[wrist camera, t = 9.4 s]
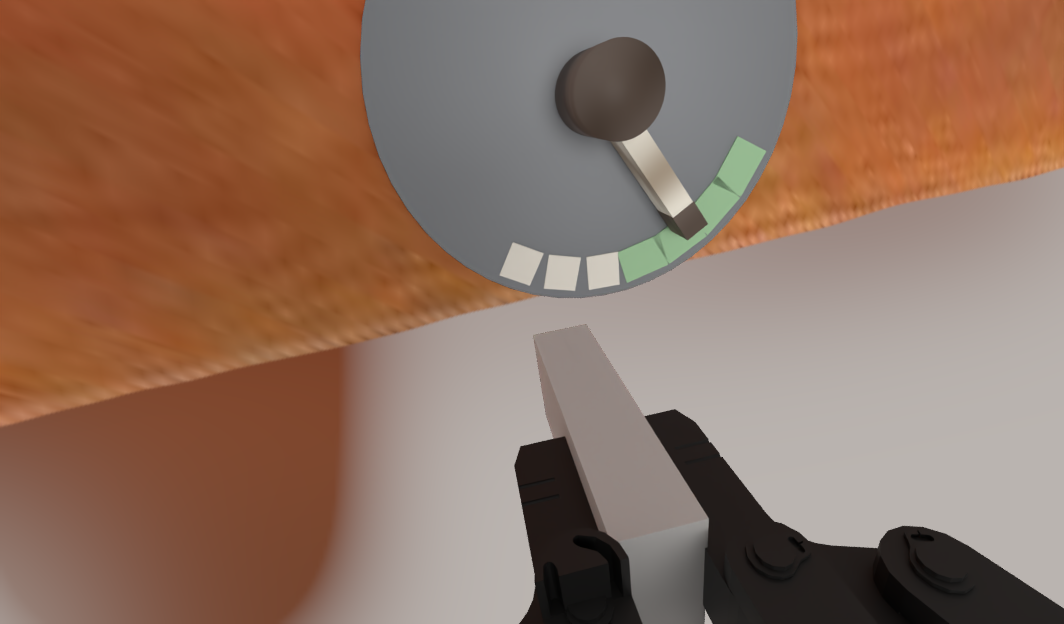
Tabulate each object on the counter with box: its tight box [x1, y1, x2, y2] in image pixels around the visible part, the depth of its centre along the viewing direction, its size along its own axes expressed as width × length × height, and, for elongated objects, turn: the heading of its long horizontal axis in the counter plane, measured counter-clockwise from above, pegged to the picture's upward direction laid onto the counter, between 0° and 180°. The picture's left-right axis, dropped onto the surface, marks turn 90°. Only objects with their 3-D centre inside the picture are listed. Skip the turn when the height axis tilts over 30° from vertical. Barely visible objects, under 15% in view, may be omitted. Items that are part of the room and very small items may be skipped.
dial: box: [360, 0, 797, 298], centre depth 29 cm, size 28×28×1 cm
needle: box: [555, 37, 708, 240], centre depth 28 cm, size 14×5×5 cm, turn 40°
